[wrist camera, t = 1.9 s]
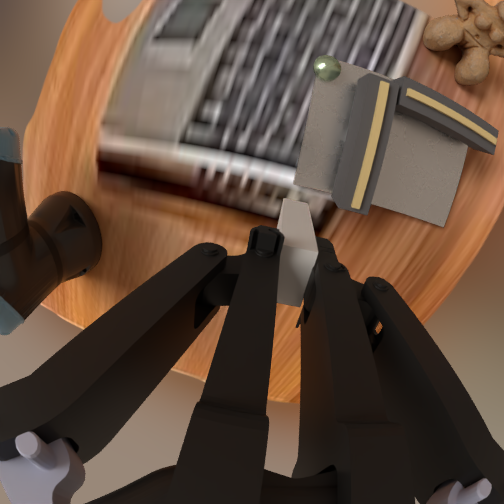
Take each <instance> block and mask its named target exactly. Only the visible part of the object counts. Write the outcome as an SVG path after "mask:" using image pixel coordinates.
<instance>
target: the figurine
mask: <svg viewBox="0 0 504 504" xmlns="http://www.w3.org/2000/svg"><path fill="white" fill-rule="evenodd" d="M455 3H456V7H457V11H458V15H448V16H443V17H439V18H436V19H434V20H432V21H431V22H430V23H429V24H428V25H427V26H426V28H425V31H424V35H423V41H424V45H425V46H426V47H427V48H428V49H430V50H433V51H444V50H448V49H450V48H451V47H452V46H453V45H455V44H456V45H458V46H459V48H460V49H461V51H462V54H463V57H462V59H461V60H460V61H459V62H458V64H457V65H456V68H455V79H456V81H457V83H459V84H461V85H475V84H478V83H480V82H482V81H483V80H484V79H485V78H486V77H487V75H488V72H489V55H491V54H492V55H494V56H499V57H503V58H504V1H501V2H499V3H497V4H496V5H495V6H494V7H493V6H490V5H489V4H487V3H486V2H485V1H484V0H455Z"/></svg>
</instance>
